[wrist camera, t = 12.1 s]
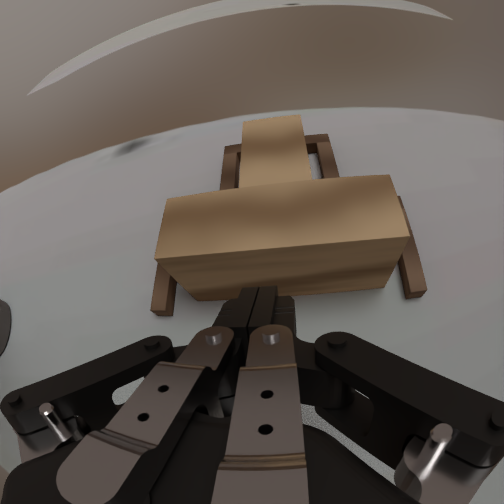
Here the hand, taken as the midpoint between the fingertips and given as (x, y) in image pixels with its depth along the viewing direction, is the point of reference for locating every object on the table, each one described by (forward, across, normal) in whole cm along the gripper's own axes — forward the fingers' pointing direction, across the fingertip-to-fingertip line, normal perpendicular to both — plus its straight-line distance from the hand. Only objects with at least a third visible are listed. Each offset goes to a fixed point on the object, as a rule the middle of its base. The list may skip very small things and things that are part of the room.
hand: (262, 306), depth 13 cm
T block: (+15, -1, 0) cm, 15 cm away
